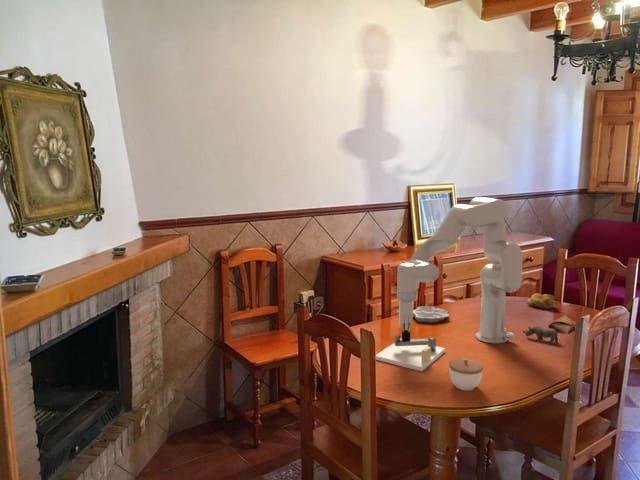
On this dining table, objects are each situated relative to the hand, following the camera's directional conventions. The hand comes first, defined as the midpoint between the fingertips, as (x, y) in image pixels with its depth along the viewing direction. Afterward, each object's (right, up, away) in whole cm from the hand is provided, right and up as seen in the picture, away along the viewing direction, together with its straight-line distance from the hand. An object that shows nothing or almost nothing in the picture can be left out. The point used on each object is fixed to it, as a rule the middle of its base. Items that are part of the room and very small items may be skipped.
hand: (405, 340), depth 195 cm
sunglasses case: (+75, 0, +28) cm, 80 cm away
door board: (+1, -5, -3) cm, 6 cm away
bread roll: (+78, +5, +59) cm, 98 cm away
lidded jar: (+15, -10, -29) cm, 34 cm away
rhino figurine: (+58, -3, +13) cm, 59 cm away
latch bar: (+3, -3, -2) cm, 5 cm away
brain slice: (+19, +2, +43) cm, 47 cm away
